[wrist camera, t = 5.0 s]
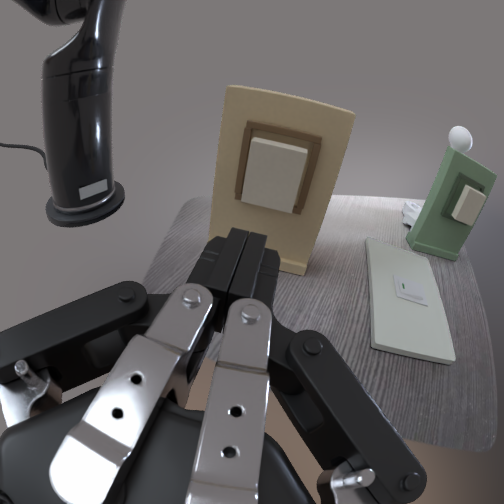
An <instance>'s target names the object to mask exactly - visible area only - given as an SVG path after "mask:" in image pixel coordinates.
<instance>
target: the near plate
mask: <svg viewBox="0 0 504 504" xmlns="http://www.w3.org/2000/svg"><path fill="white" fill-rule="evenodd" d="M355 117H356V115H355V114H354V113H353V112H352V111H349V110H346V109H342V108H339V107H336V106H332V105H329V104H325V103H321V102H318V101H314V100H310V99H306V98H302V97H298V96H294V95H289V94H285V93H279V92H275V91H269V90H264V89H258V88H252V87H246V86H239V85H229V86H227V87H226V93H225V100H224V107H223V114H222V121H221V129H220V136H219V144H218V153H217V161H216V169H215V178H214V187H213V197H212V207H211V218H210V229H209V240H208V241H210V240H211V239H213V238H214V237H216V236H220V237H224V238H227V236H228V234H229V232H230V230H231V228H232V227H234V228H238V229H243V230H247V231H249V234H250V232H255V233H259V234H263V235H267V241H266V245H265V248H269V249H273V250H277V251H278V254H279V256H280V259H281V262H280V267H279V270H281V271H285V272H289V273H293V274H297V275H301V276H304V274H305V271H306V268H307V263H308V260H309V258H310V255H311V252H312V250H313V247H314V244H315V241H316V239H317V236H318V233H319V230H320V227H321V225H322V222H323V219H324V216H325V213H326V210H327V207H328V204H329V201H330V198H331V195H332V192H333V189H334V186H335V183H336V180H337V177H338V174H339V171H340V167H341V164H342V161H343V158H344V154H345V151H346V148H347V144H348V141H349V138H350V134H351V131H352V127H353V124H354V120H355ZM254 137H257V138H262V139H266V140H271V141H276V142H280V143H284V144H288V145H293V146H297V147H301V148H305V149H307V158H306V161H305V165H304V169H303V173H302V177H301V180H300V184H299V188H298V192H297V195H296V199H295V203H294V206H293V210H292V213H287V212H283V211H279V210H275V209H271V208H267V207H262V206H258V205H254V204H250V203H245V202H241V199H242V193H243V186H244V180H245V174H246V168H247V163H248V157H249V151H250V145H251V141H252V139H253V138H254ZM207 243H208V242H207Z"/></svg>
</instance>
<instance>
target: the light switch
mask: <svg viewBox="0 0 504 504" xmlns="http://www.w3.org/2000/svg"><path fill="white" fill-rule="evenodd" d="M365 245H366V254H367V265H368V277H369V293H370V316H371V346H372V347H373V348H375V349H379V350H383V351H387V352H392V353H396V354H400V355H405V356H409V357H414V358H418V359H423V360H428V361H433V362H438V363H443V364H448V365H451V364H452V363H453V362H454V361H455V360H456V359H455V353H454V348H453V344H452V339H451V335H450V330H449V326H448V322H447V318H446V315H445V311H444V307H443V304H442V300H441V297H440V294H439V290H438V287H437V284H436V281H435V278H434V275H433V272H432V269H431V266H430V264H429V261H428V259H427V258H425V257H423V256H420V255H417V254H415V253H412V252H410V251H407V250H404V249H402V248H399V247H396V246H393V245H391V244H388V243H385V242H382V241H380V240H377V239H374V238H371V237H367V239H366V241H365Z"/></svg>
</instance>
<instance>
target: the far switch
mask: <svg viewBox="0 0 504 504" xmlns="http://www.w3.org/2000/svg"><path fill="white" fill-rule="evenodd" d="M485 199H486V196H485V195H484V194H483V193H481V192H479V191H477V190H475V189H474V188H472V187H470V186H468V185H465V187H464V189H463V191H462V194H461V196H460V198H459V200H458V202H457V204H456V206H455V208H454V211H453V213H452V216H453V218H454V219H455V220H458V221H460V222H463V223H465V224H468V225H470V226H472V225H473V223H474V222H475V220H476V218H477V216H478V214H479V212H480V210H481V208H482V206H483V204H484V201H485Z"/></svg>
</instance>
